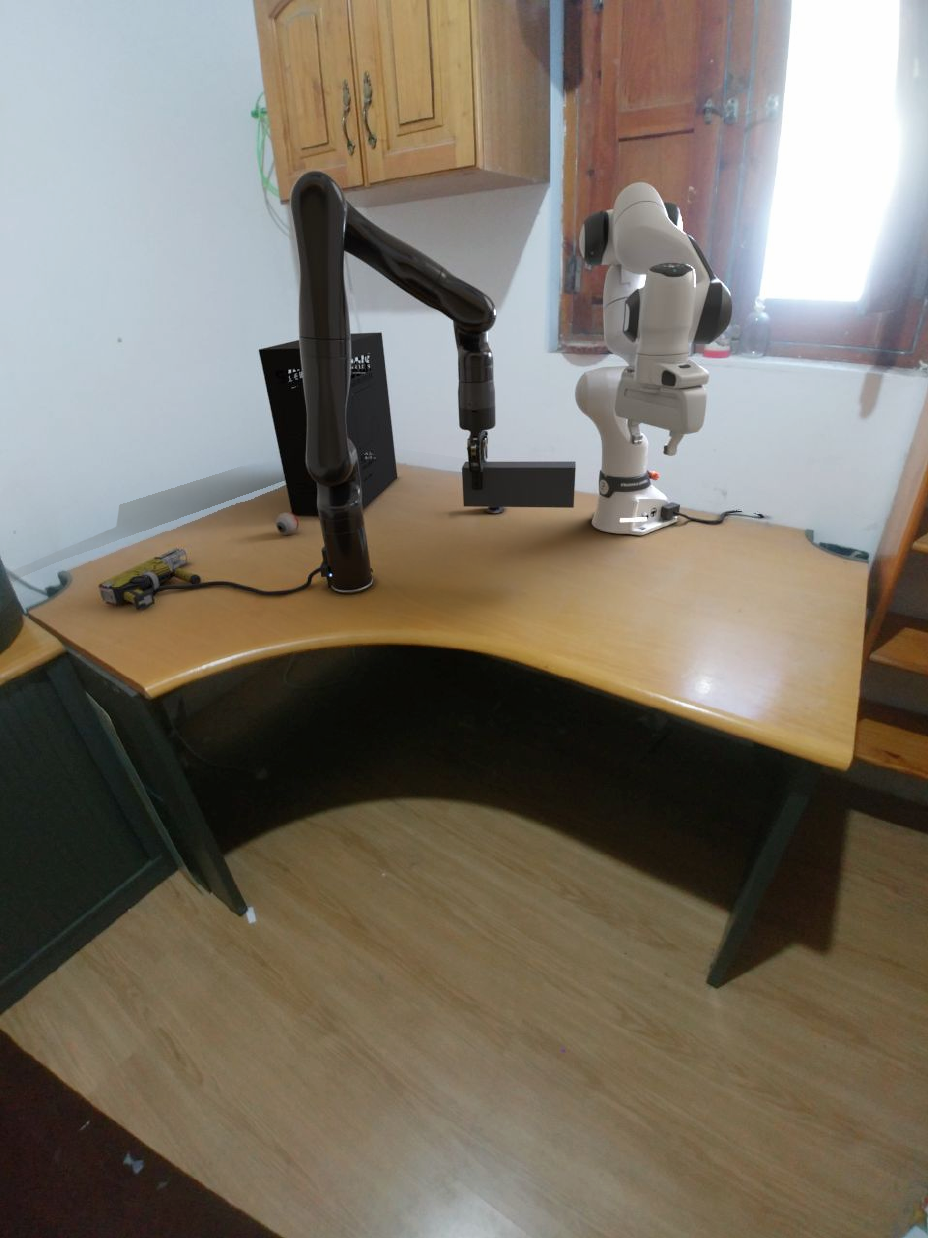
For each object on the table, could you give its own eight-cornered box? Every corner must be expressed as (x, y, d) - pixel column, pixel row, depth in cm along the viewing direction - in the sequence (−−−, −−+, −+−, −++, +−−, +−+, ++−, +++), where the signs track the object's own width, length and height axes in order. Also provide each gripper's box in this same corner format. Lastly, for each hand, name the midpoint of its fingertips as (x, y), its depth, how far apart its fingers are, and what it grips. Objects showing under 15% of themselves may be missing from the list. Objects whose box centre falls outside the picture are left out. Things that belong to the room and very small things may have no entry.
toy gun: (224, 556, 146) (173, 545, 150) (148, 597, 126) (92, 584, 130) (226, 573, 148) (177, 563, 152) (152, 617, 128) (97, 603, 132)
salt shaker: (503, 513, 170) (502, 471, 164) (483, 513, 171) (481, 471, 165) (506, 506, 175) (506, 465, 169) (486, 506, 176) (485, 465, 170)
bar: (573, 500, 132) (575, 461, 127) (573, 507, 128) (575, 467, 124) (466, 499, 135) (465, 461, 131) (463, 506, 131) (461, 467, 127)
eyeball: (273, 537, 164) (268, 516, 161) (287, 528, 169) (282, 508, 166) (291, 539, 161) (286, 518, 158) (305, 530, 166) (301, 510, 163)
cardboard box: (355, 516, 174) (330, 347, 152) (292, 514, 179) (258, 349, 156) (397, 477, 206) (381, 332, 183) (342, 476, 210) (320, 334, 188)
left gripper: (464, 397, 129) (467, 475, 138) (452, 411, 117) (456, 496, 125) (498, 396, 128) (499, 475, 136) (491, 410, 116) (492, 496, 124)
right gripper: (609, 366, 113) (604, 440, 120) (687, 378, 97) (676, 464, 104) (636, 362, 115) (630, 435, 122) (717, 374, 99) (704, 458, 106)
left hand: (479, 485), depth 131 cm, fingers closed on bar, 4 cm apart
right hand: (652, 449), depth 113 cm, fingers open, 8 cm apart
